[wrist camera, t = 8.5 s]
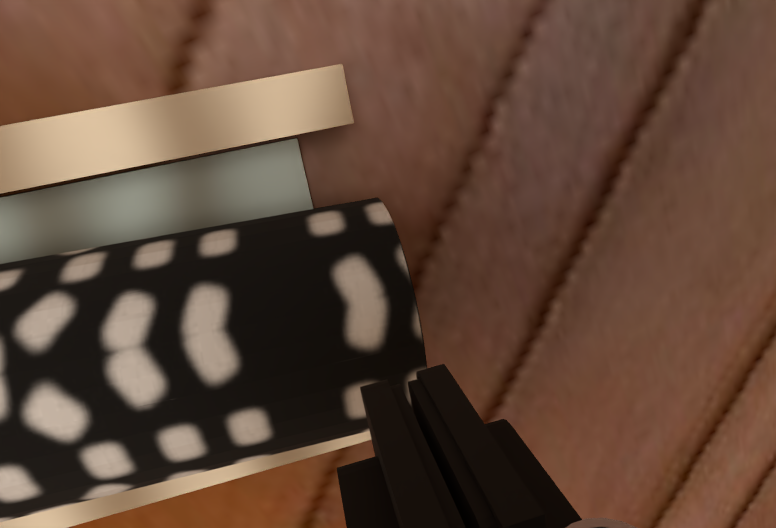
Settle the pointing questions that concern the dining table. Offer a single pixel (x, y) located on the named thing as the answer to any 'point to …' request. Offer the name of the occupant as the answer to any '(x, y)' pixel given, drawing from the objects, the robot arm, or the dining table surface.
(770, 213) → the dining table surface
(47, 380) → the spotted tube
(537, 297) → the dining table surface
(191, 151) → the open-ended tray
